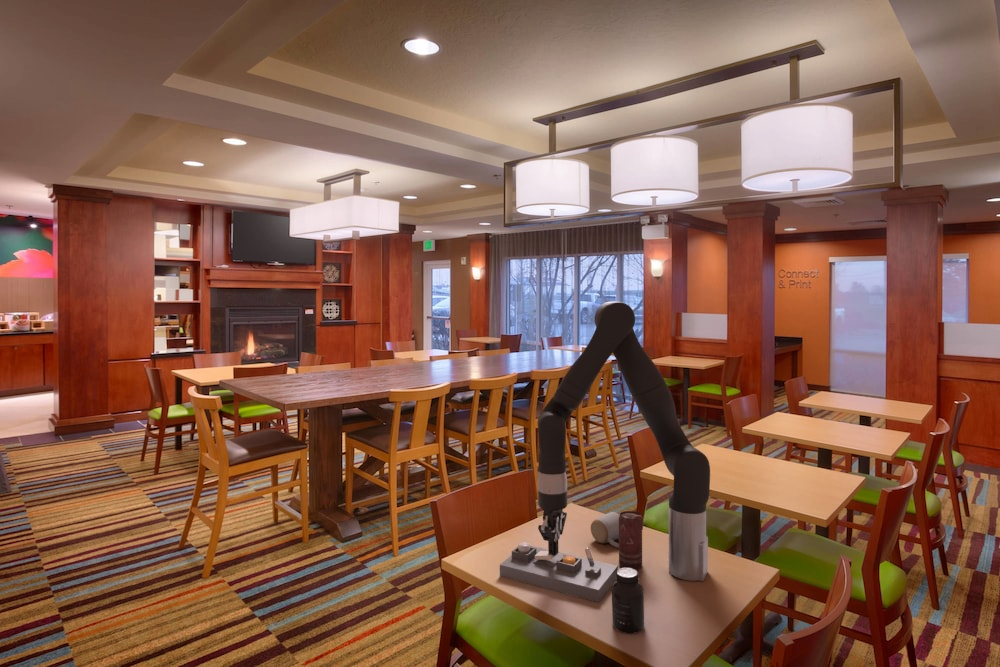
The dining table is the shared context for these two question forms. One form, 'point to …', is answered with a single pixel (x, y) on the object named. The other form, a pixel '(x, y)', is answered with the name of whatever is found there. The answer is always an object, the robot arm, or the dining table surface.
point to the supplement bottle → (627, 601)
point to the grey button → (524, 547)
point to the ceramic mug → (606, 528)
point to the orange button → (569, 560)
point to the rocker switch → (543, 555)
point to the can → (630, 539)
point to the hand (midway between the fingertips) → (553, 554)
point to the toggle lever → (589, 557)
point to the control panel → (560, 574)
